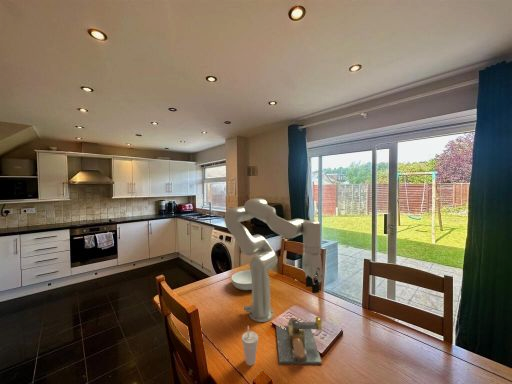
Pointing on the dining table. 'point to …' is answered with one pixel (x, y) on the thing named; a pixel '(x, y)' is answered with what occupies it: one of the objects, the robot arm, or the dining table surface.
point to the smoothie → (250, 346)
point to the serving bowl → (242, 280)
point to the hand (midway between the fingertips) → (312, 289)
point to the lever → (306, 325)
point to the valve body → (296, 346)
